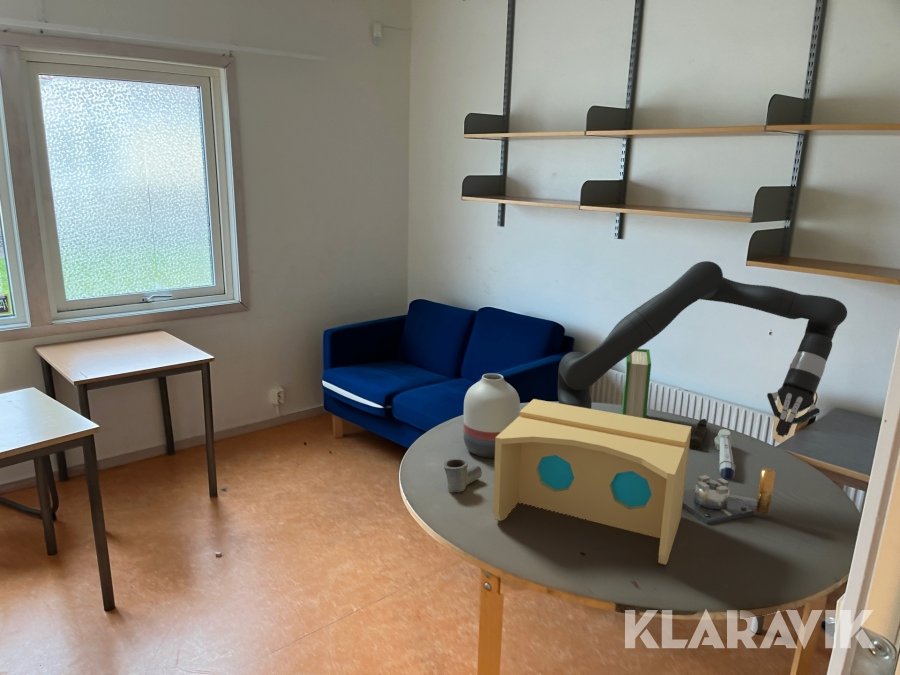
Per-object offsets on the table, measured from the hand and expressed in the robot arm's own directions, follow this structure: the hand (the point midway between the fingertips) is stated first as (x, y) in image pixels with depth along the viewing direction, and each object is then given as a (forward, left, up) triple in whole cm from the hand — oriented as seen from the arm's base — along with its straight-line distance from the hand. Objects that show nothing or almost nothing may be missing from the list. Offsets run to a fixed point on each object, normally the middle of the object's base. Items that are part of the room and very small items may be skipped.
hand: (780, 435), depth 163 cm
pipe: (-73, +33, -19) cm, 83 cm away
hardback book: (-2, +59, -19) cm, 62 cm away
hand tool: (+10, +41, -20) cm, 46 cm away
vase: (-57, +53, -19) cm, 80 cm away
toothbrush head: (+7, +25, -20) cm, 32 cm away
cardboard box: (-50, +7, -19) cm, 54 cm away
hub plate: (-16, +4, -19) cm, 25 cm away
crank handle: (-12, 0, -18) cm, 22 cm away
